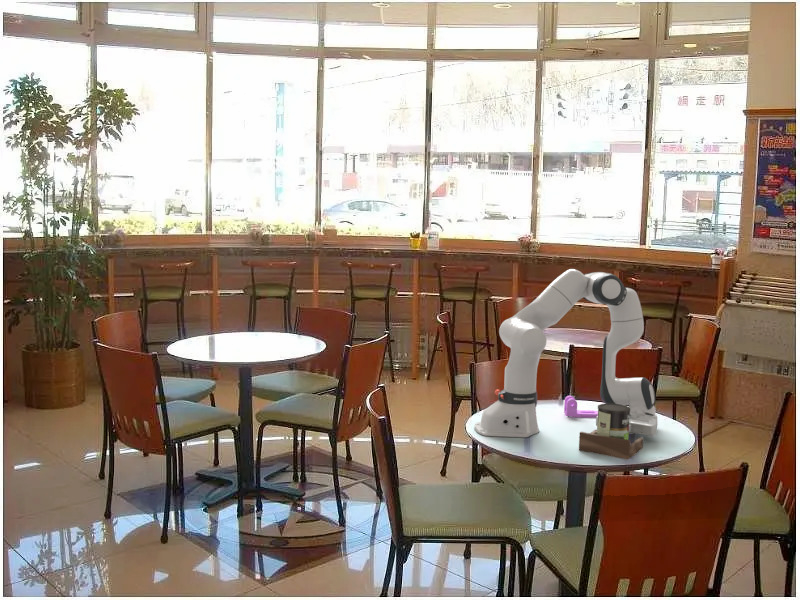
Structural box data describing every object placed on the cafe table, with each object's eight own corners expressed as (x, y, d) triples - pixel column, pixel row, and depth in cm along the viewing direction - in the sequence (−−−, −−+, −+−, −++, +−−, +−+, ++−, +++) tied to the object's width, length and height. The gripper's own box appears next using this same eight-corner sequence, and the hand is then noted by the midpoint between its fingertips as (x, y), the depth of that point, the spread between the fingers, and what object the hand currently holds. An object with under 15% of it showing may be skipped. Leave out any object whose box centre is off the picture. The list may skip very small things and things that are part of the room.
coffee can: (631, 447, 274) (633, 405, 273) (623, 455, 266) (625, 412, 264) (600, 442, 279) (602, 401, 278) (591, 450, 271) (593, 408, 269)
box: (594, 439, 283) (595, 422, 282) (642, 448, 274) (643, 430, 273) (578, 450, 270) (579, 432, 270) (628, 459, 261) (629, 441, 261)
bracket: (566, 417, 311) (567, 399, 310) (564, 413, 317) (564, 395, 316) (601, 418, 311) (602, 399, 310) (598, 414, 317) (599, 396, 316)
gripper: (603, 407, 294) (589, 415, 282) (661, 416, 283) (649, 425, 271) (602, 424, 295) (588, 433, 283) (660, 434, 283) (648, 444, 272)
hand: (619, 429), depth 277 cm, fingers closed
